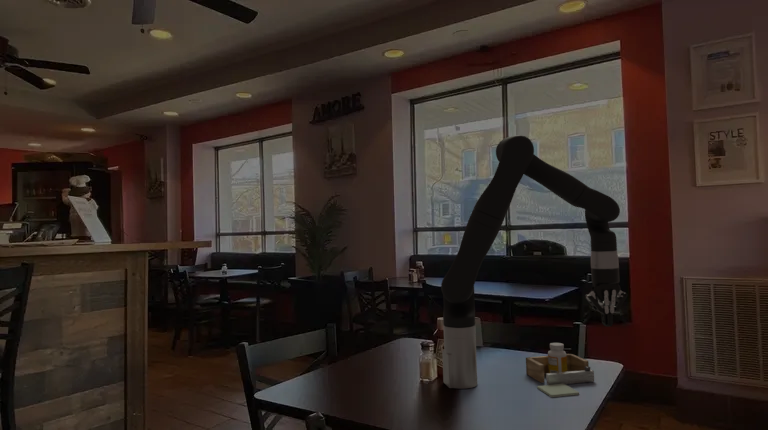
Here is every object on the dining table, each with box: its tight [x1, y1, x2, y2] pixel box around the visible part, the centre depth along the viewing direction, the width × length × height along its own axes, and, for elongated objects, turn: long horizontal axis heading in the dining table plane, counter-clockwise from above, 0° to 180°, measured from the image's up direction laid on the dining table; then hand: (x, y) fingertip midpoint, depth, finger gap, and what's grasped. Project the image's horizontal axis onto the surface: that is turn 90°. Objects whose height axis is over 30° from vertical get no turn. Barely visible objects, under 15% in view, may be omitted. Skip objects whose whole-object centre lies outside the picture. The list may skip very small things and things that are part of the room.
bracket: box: [525, 353, 590, 384], centre depth 155 cm, size 15×9×5 cm, turn 100°
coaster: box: [537, 384, 580, 398], centre depth 141 cm, size 8×8×1 cm
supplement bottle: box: [547, 342, 568, 373], centre depth 155 cm, size 5×5×10 cm
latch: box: [545, 366, 595, 385], centre depth 148 cm, size 14×2×4 cm, turn 100°
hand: (607, 325), depth 150 cm, fingers closed
